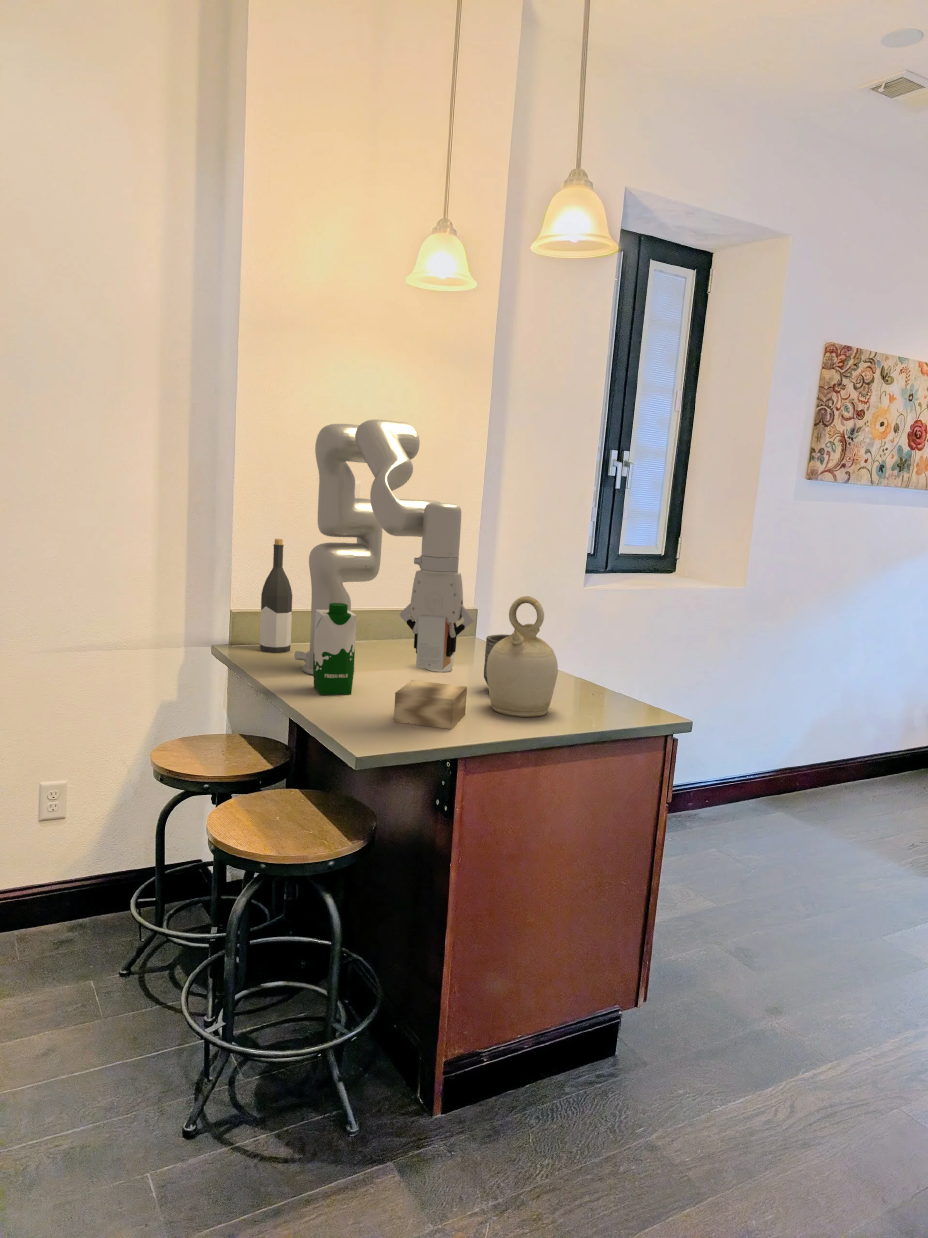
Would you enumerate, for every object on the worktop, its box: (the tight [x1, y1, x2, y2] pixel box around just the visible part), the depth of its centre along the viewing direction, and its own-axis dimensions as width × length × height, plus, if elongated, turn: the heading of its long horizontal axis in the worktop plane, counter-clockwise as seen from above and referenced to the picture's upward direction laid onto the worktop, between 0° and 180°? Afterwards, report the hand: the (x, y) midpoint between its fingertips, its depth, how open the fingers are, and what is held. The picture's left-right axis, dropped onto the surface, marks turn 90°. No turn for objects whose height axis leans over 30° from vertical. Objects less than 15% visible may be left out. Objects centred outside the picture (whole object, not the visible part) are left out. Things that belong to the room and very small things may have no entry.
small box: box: [415, 616, 451, 670], centre depth 178 cm, size 8×6×10 cm
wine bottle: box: [259, 538, 293, 654], centre depth 236 cm, size 8×8×30 cm
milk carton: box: [312, 603, 357, 696], centre depth 196 cm, size 9×9×20 cm
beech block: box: [393, 679, 468, 730], centre depth 180 cm, size 12×12×6 cm
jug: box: [486, 595, 559, 718], centre depth 190 cm, size 15×16×25 cm
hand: (434, 653), depth 179 cm, fingers closed on small box, 5 cm apart
